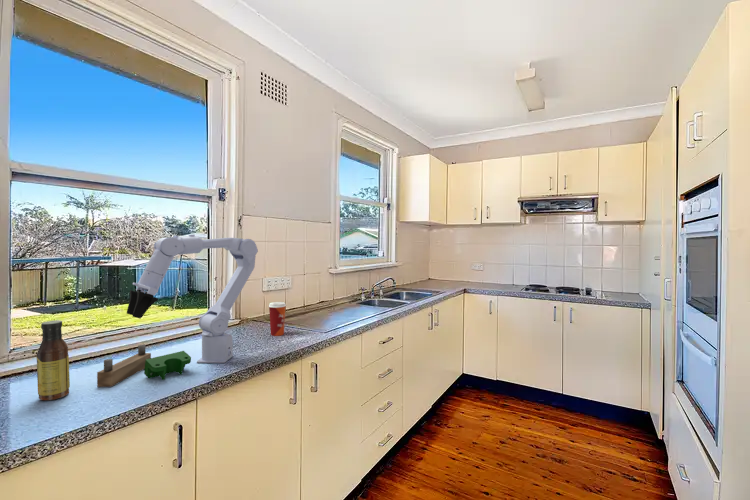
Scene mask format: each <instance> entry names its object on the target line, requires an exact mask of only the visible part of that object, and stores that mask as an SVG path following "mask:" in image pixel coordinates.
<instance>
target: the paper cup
mask: <svg viewBox="0 0 750 500" xmlns="http://www.w3.org/2000/svg"><path fill="white" fill-rule="evenodd" d="M286 306H287V304H286V302H283V301H273V302H270V303H269V305H268V308H269V329H270V336H271V337H281V336H283V335H285V323H286V322H285V321H286V308H287V307H286Z"/></svg>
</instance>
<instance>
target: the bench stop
mask: <svg viewBox="0 0 750 500" xmlns="http://www.w3.org/2000/svg"><path fill="white" fill-rule="evenodd" d="M150 358H152V353H151V352H146V344H144V343H143V344H138V346H137V353H136V354H134V355H132V356H129V357H127V358H125V359H123V360H121V361H118V362H117V363H113V359H112V358H108V359H107V358H106V359H104V360H103V369H101V370H99V371H97V372H96V377H97V378H96V381H97V382H96V384H97V385H96V386H97V388H98V387H101V388H103V387H108V388H109V387H110V388H111V387H114V386H115V385H117V384H119V383H122V382H123V381H125V380H126V379H128V378H130V377H132V376H133V375H136V374H137V373H139V372H141V371H144V369H145V360H146V359H150Z"/></svg>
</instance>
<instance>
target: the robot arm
mask: <svg viewBox="0 0 750 500" xmlns="http://www.w3.org/2000/svg"><path fill="white" fill-rule="evenodd" d="M220 248H221V249H222V248H223V249H225V251H229V253H230V254H231V256H232V257H233V259H234V260H235V261H236V265H237V267H236V269H235V270H234V272H233V274H232V275H231V277H230V278H229V280H228V283H227V284H226V285H225V287H224V288H223V290H222V292H221V294H220V295H219V297H218V299H217V301H216V302H215V303H214V304H213V305H212V306H211V307H209V308H208V310H207V311H206V313H204V314H202V315H201V316H200V318H199V319H198V327H199V328H200V330H202V332H201V358H200V359H198V360H197V361H196V363H197V364H199V363H200V364H201V363H206V364H207V363H209V364H211V363H212V364H214V363H216V364H217V363H220V364H224V363H226V362H227V361H229V360H230V359H231V358H233V357H234V354H233V353H234V352H233V349H234V348H233V346H234V345H233V344H234V343H233V336H232V334H231V333H226V331H227V329H228V327H229V321H230V319H231V317H232V316H231V310H232V307H233V306H234V303H235V302H236V301H237V299H238V297H239V295H240V294H241V292H242V290H243V288H244V286H245V285H246V283H247V281H248V280H249V278H250V276H251V274H252V273H253V271H254V269H255V265H256V255H257V253H258V252H259V251H258V246H257V243H256V242H255V240H253V239H251V238H241V237H239V238H238V237H218V238H209V239H208V238H207V239H202V238H201V237H200V236H199V235H195V234H188V236H179V235H173V236H171V237H161V238H159V239H157V240H156V241H155V242H154V244H153V249H154V251H153V253H152V254H151V256H150V257H149V260H148V262H147V264H146V266H145V268H144V270H143V272H142V274H141V276H140V277H139V280H138V282H132V285H133V286H135V287H136V288H135V290H132V289H130V290H129V302H128V305H127V309H126V315H130V316H132V318H136V319H141V318H143V316H144V315H145V314H146V312H147V311H148V310H149V309H150V307H152V305H153V304H155V303H156V302H158V300H159V298H158V297H155V296H156V294H157V293H158V292H159V288H160V287H161V284H162V283H163V280H164V278H165V277H166V274H167V272H168V270H169V268H170V266H171V263H172V261H173V259H174V257H175V256H179V255H180V256H181V255H190V254H199V253H201V252H202V251H203V250H204V249H220Z"/></svg>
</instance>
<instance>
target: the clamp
mask: <svg viewBox="0 0 750 500" xmlns="http://www.w3.org/2000/svg"><path fill="white" fill-rule="evenodd" d="M191 362H192V357H191V356H190V355H189V354H188V353H187V352H186V351H185V350H181V351H175V352H172V353H168V354H164V355H159V356H154V357H151V358H150V359H146V360H145V369H143V371H144V372H143V374H144V375H145V377H146V378H148V379H153V378H154V379H155V378H158V377H159V378H161V380H166V375H169V374H172V373H178V374H179V375H183V372H184V369H185V367H186V366H187V365H190V363H191Z"/></svg>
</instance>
